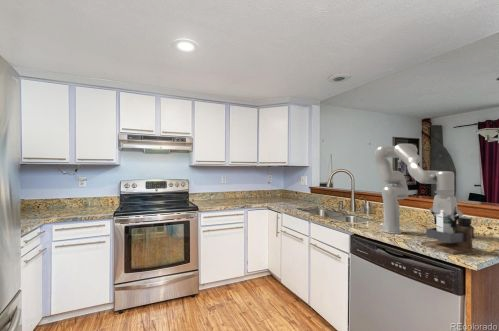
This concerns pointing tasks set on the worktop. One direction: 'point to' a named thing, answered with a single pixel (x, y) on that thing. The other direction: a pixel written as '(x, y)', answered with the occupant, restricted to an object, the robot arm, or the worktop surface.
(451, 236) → the open storage bin
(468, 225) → the ink bottle
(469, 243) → the bracket board
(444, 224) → the syrup box
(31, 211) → the worktop surface
